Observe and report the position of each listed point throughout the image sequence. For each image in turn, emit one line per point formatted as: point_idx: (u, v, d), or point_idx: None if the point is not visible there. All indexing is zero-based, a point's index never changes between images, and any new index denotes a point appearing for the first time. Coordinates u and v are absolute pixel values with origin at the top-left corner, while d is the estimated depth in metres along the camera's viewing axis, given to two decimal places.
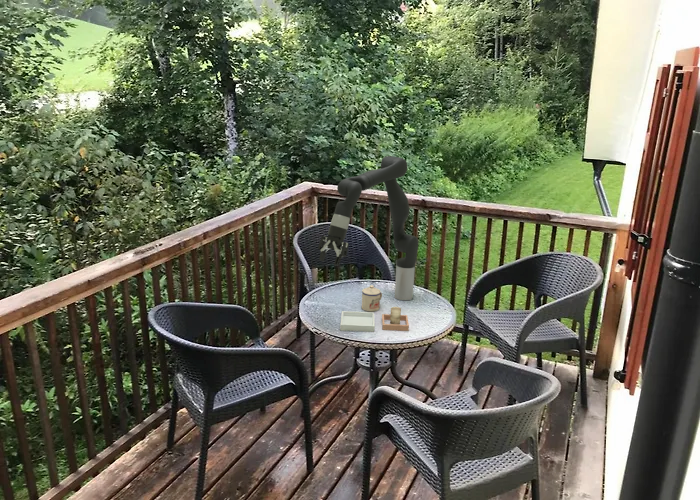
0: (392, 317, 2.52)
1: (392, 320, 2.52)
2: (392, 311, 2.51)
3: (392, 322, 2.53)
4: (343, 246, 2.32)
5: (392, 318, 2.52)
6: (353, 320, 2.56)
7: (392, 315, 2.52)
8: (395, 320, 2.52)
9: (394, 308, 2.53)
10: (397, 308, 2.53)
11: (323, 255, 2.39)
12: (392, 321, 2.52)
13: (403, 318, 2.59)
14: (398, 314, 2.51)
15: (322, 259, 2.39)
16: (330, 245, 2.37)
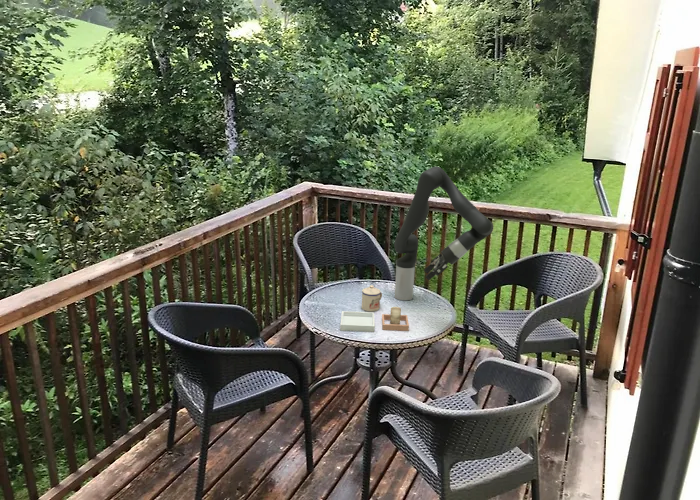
0: (392, 317, 2.52)
1: (392, 320, 2.52)
2: (392, 311, 2.51)
3: (392, 322, 2.53)
4: None
5: (392, 318, 2.52)
6: (353, 320, 2.56)
7: (392, 315, 2.52)
8: (395, 320, 2.52)
9: (394, 308, 2.53)
10: (397, 308, 2.53)
11: None
12: (392, 321, 2.52)
13: (403, 318, 2.59)
14: (398, 314, 2.51)
15: None
16: None
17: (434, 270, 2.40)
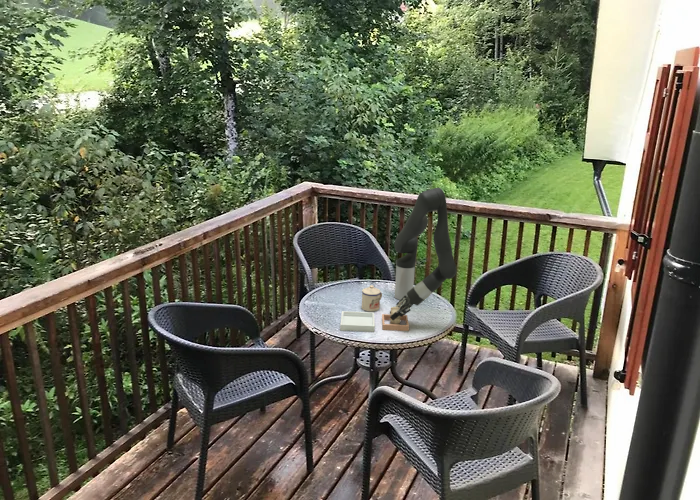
0: None
1: (392, 320, 2.52)
2: (392, 311, 2.51)
3: (392, 322, 2.53)
4: None
5: None
6: (353, 320, 2.56)
7: None
8: (395, 320, 2.52)
9: (394, 308, 2.53)
10: (397, 308, 2.53)
11: None
12: (392, 321, 2.52)
13: (403, 318, 2.59)
14: None
15: None
16: None
17: (398, 311, 2.48)
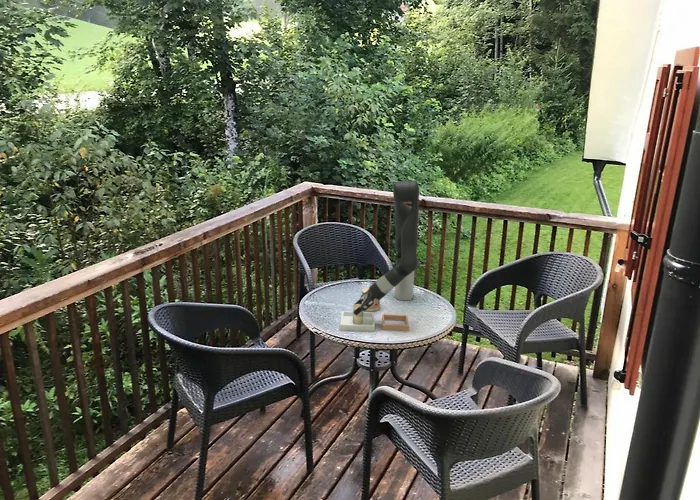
0: (354, 314, 2.51)
1: (354, 317, 2.52)
2: (354, 308, 2.51)
3: (355, 319, 2.52)
4: None
5: (354, 315, 2.51)
6: None
7: None
8: (358, 317, 2.51)
9: (357, 305, 2.52)
10: None
11: None
12: (354, 318, 2.52)
13: (403, 318, 2.59)
14: None
15: None
16: None
17: (361, 306, 2.45)
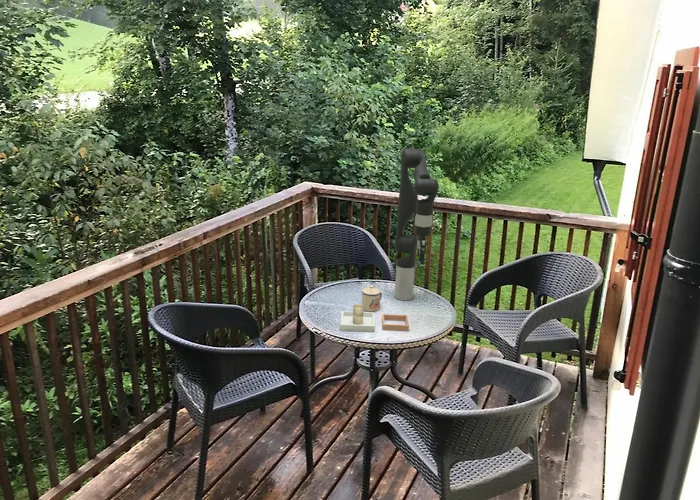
0: (354, 314, 2.51)
1: (354, 317, 2.52)
2: (354, 308, 2.51)
3: (354, 319, 2.52)
4: None
5: (354, 315, 2.51)
6: None
7: (354, 312, 2.51)
8: (357, 317, 2.51)
9: (357, 305, 2.52)
10: (360, 305, 2.52)
11: None
12: (354, 318, 2.52)
13: (403, 318, 2.59)
14: (360, 311, 2.50)
15: None
16: None
17: (419, 252, 2.44)
